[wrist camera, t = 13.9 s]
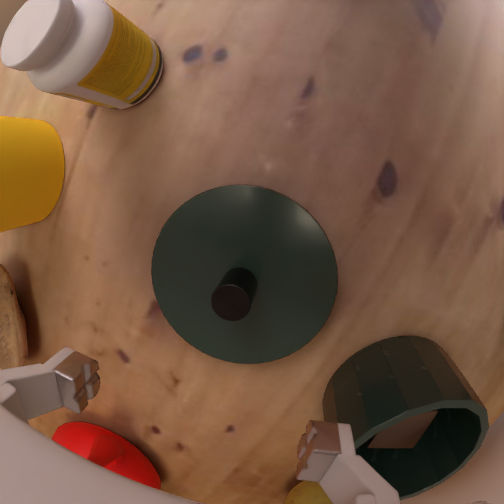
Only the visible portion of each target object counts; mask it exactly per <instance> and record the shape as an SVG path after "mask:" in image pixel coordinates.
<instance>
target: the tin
mask: <svg viewBox="0 0 504 504" xmlns="http://www.w3.org/2000/svg"><path fill="white" fill-rule="evenodd" d="M436 409H438V413H437V414H436V416H435V417H434V419H433V420H432V422H431V423H430V425H429V426H428V428H427V429H426V431H425V432H424V433H423V435H422V436H421V438H420V439H419V440H418V442H417V443H416V444H415V446H414V447H413V448H368V447H367V442H366V441H367V440H369V439H370V438H371V437H373V436H374V435H375V434H376V433H378V432H381V431H383V430H385V429H387V428H389V427H391V426H393V425H395V424H397V423H399V422H401V421H403V420H405V419H407V418H409V417H412V416H416V415H420V414H423V413H427V412H430V411H433V410H436ZM323 411H324V422H332V423H344V424H350V426H351V430H352V435H353V440H354V446H355V451H356V455H360V456H361V457H362V458H363V459H364V460H365V461H366V462H367V463H368V464H369V465H370V466H371V467H372V468H373V469H374V470H375V471H376V472H377V473H378V474H379V475H380V476H381V477H383V478H384V479H385V480H386V481H387V482H388V483H389V484H390V485H391V486H392V487H393V488H394V489H395V490H396V491H397V492H398V495H399V499H400V500H403V499H406V498H410V497H413V496H416V495H418V494H420V493H423V492H425V491H427V490H429V489H431V488H433V487H435V486H437V485H439V484H441V483H442V482H444V481H445V480H447V479H448V478H449V477H451V476H452V475H453V474H455V473H456V472H457V471H459V470H460V469H461V468H463V467H464V466H465V464H466V463H467V462H468V461H469V460H470V459H471V458H472V457H473V455H474V454H475V453H476V452H477V451H478V449H479V448H480V447H481V444H482V442H483V440H484V438H485V435H486V433H487V431H488V428H489V422H488V414H487V409H486V408H485V406H484V405H483V403H482V402H481V400H480V399H479V397H478V396H477V394H476V393H475V391H474V390H473V388H472V387H471V386H470V384H469V383H468V381H467V380H466V378H465V377H464V376H463V374H462V373H461V371H460V370H459V369H458V367H457V366H456V364H455V363H454V362H453V360H452V359H451V358H450V356H449V355H448V354H447V353H446V352H445V351H444V350H443V349H442V348H441V347H440V346H439V345H438V344H436V343H435V342H433V341H431V340H429V339H426V338H422V337H418V336H399V337H393V338H389V339H385V340H382V341H379V342H377V343H374V344H372V345H370V346H368V347H366V348H364V349H362V350H361V351H359V352H357V353H356V354H354V355H353V356H352V357H350V358H349V359H348V360H347V361H346V362H345V363H344V364H342V365H341V366H340V368H339V369H338V370H337V371H336V372H335V374H334V375H333V376H332V378H331V379H330V381H329V383H328V385H327V387H326V390H325V393H324V398H323Z"/></svg>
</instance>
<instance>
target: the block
mask: <svg viewBox="0 0 504 504" xmlns="http://www.w3.org/2000/svg"><path fill="white" fill-rule="evenodd" d="M437 413H438V409H436V410H433V411H430V412H427V413H423V414H420V415H416V416H412V417H409V418H407V419H405V420H403V421H401V422H399V423H397V424H395V425H393V426H391V427H389V428H387V429H385V430H383V431H381V432H378V433H376V434H375V435H374V436H373V437H371V438H370V439H369V440H367V441H366V442H367V447H368V448H413V447H414V446H415V444H416V443H417V442H418V440H419V439H420V438H421V436H422V435H423V433H424V432H425V431H426V429H427V428H428V426H429V425H430V423H431V422H432V420H433V419H434V417H435V416H436V414H437Z"/></svg>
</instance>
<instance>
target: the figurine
mask: <svg viewBox="0 0 504 504" xmlns="http://www.w3.org/2000/svg"><path fill="white" fill-rule="evenodd" d="M283 504H333V503H332V502H331V501H330V499H329V498H328V496H327V495H326V493H325V492H324V490H323V489H322V487H321V486H320V484H319V482H313V481H305V480H303V481H302V482H300V483H299V484H298V485H296V486H295V487H294V488H293V489H292V490H291V491H290V492H289V493H288V494H287V496H286V497H285V499H284V501H283Z"/></svg>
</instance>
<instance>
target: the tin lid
mask: <svg viewBox="0 0 504 504" xmlns="http://www.w3.org/2000/svg"><path fill="white" fill-rule="evenodd" d="M151 274H152V284H153V288H154V293H155V296H156V299H157V302H158V304H159V307H160V309H161V311H162V313H163V315H164V316H165V318H166V319H167V321H168V322H169V324H170V325H171V326H172V327H173V329H174V330H175V331H176V332H177V333H178V334H179V335H180V336H181V337H182V338H183V339H184V340H185V341H187V342H188V343H189V344H191V345H192V346H193V347H195V348H196V349H198V350H200V351H202V352H203V353H205V354H208V355H210V356H212V357H214V358H217V359H221V360H224V361H228V362H233V363H243V364H257V363H264V362H270V361H274V360H277V359H280V358H283V357H285V356H288V355H290V354H292V353H294V352H295V351H297V350H299V349H300V348H302V347H303V346H304V345H306V344H307V343H308V342H309V341H310V340H311V339H312V338H313V337H314V336H315V335H316V334H317V333H318V332H319V331H320V329H321V328H322V327H323V325H324V324H325V322H326V320H327V319H328V317H329V315H330V313H331V310H332V308H333V305H334V302H335V297H336V293H337V283H338V276H337V265H336V260H335V255H334V252H333V250H332V247H331V244H330V242H329V240H328V238H327V236H326V234H325V232H324V231H323V229H322V228H321V226H320V225H319V224H318V222H317V221H316V220H315V219H314V217H313V216H312V215H311V214H310V213H309V212H308V211H307V210H306V209H304V208H303V207H302V206H301V205H299V204H298V203H297V202H295V201H294V200H292V199H290V198H289V197H287V196H285V195H283V194H281V193H278V192H276V191H274V190H271V189H267V188H263V187H259V186H252V185H230V186H223V187H218V188H214V189H211V190H207V191H205V192H203V193H201V194H198V195H196V196H195V197H193V198H191V199H190V200H188V201H187V202H185V203H184V204H183V205H182V206H180V207H179V208H178V209H177V210H176V211H175V212H174V213H173V214H172V216H171V217H170V218H169V219H168V220H167V222H166V223H165V225H164V227H163V228H162V230H161V232H160V234H159V236H158V238H157V241H156V244H155V247H154V251H153V257H152V270H151Z"/></svg>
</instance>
